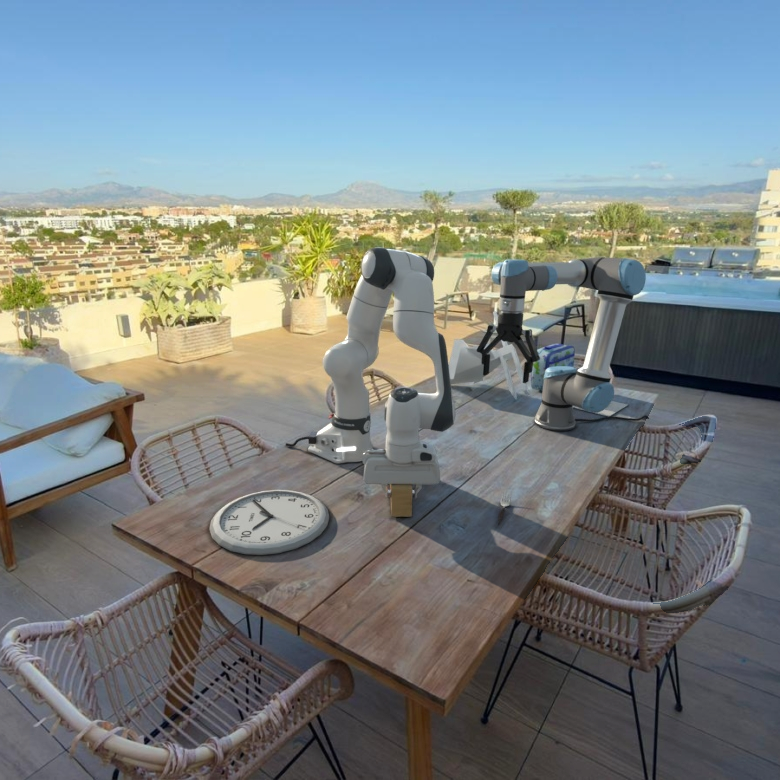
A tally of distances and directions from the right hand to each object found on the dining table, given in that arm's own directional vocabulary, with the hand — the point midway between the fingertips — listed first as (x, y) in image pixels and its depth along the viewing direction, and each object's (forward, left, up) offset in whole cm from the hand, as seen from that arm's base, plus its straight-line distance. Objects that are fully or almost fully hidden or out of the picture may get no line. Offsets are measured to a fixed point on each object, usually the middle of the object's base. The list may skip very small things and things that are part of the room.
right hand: (505, 378), depth 166 cm
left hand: (+29, +38, -24) cm, 53 cm away
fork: (+2, +36, -28) cm, 45 cm away
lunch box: (-31, -86, -28) cm, 95 cm away
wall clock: (+62, +48, -28) cm, 83 cm away
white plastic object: (+3, -72, -28) cm, 78 cm away
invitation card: (-48, -60, -28) cm, 82 cm away
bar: (+30, +30, -27) cm, 50 cm away
